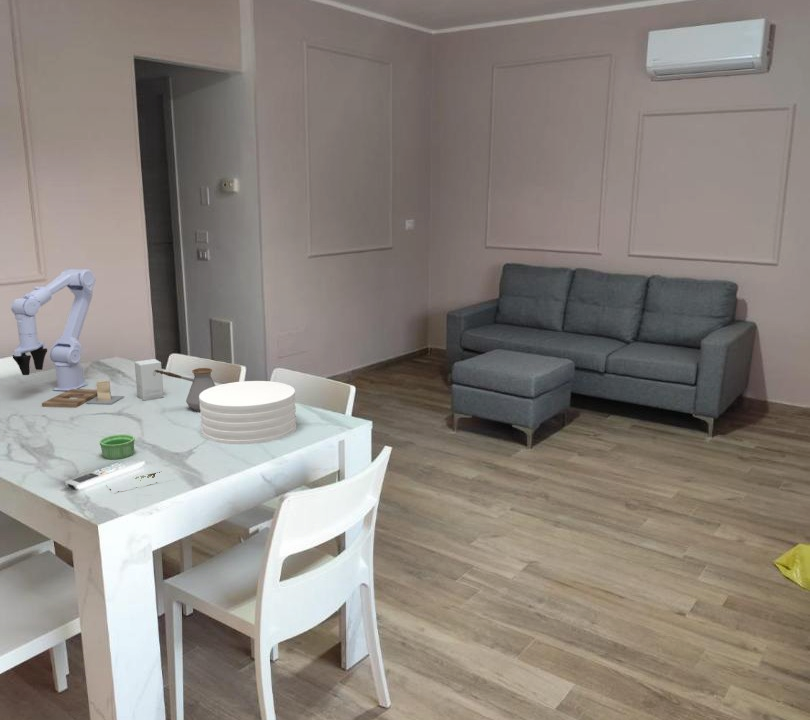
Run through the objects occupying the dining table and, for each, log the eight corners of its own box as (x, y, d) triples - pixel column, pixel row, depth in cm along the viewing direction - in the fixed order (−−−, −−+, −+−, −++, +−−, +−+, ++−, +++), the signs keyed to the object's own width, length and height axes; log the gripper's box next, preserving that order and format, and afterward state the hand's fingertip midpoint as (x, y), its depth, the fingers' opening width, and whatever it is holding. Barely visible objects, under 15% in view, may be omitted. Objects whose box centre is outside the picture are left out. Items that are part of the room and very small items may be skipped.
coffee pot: (216, 401, 252) (213, 358, 249) (227, 409, 243) (224, 364, 240) (152, 411, 241) (148, 366, 238) (161, 420, 232) (157, 373, 228)
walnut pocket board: (71, 392, 264) (71, 388, 264) (103, 393, 263) (103, 389, 263) (42, 406, 247) (41, 403, 247) (76, 407, 245) (75, 404, 245)
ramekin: (135, 458, 199) (133, 443, 198) (99, 462, 196) (97, 446, 195) (137, 447, 207) (135, 432, 206) (102, 450, 205) (101, 435, 204)
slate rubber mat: (99, 396, 258) (99, 395, 258) (124, 397, 257) (124, 396, 257) (86, 403, 250) (85, 402, 250) (111, 404, 249) (111, 403, 249)
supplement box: (164, 397, 257) (161, 362, 254) (142, 401, 253) (139, 365, 250) (158, 392, 263) (155, 358, 260) (137, 396, 259) (133, 361, 256)
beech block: (98, 398, 255) (96, 381, 253) (110, 397, 256) (109, 380, 255) (98, 401, 251) (96, 384, 250) (110, 400, 252) (109, 383, 251)
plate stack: (181, 438, 215) (178, 400, 213) (236, 411, 241) (234, 377, 238) (264, 449, 205) (262, 410, 203) (312, 421, 231) (311, 385, 228)
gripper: (29, 329, 259) (34, 367, 262) (3, 337, 245) (8, 377, 248) (48, 329, 258) (53, 367, 261) (23, 337, 244) (28, 377, 247)
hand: (32, 372), depth 254 cm, fingers open, 7 cm apart
